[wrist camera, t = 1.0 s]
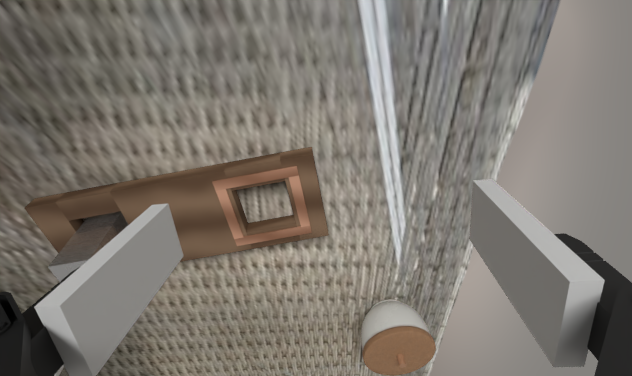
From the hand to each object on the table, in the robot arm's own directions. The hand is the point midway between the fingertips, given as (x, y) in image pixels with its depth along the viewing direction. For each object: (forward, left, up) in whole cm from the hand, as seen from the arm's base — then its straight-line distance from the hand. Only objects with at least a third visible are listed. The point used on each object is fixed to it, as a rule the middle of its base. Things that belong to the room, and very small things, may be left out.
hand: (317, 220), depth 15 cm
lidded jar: (+41, +7, -26) cm, 49 cm away
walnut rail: (+15, -17, -26) cm, 34 cm away
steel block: (+15, -27, -26) cm, 40 cm away
